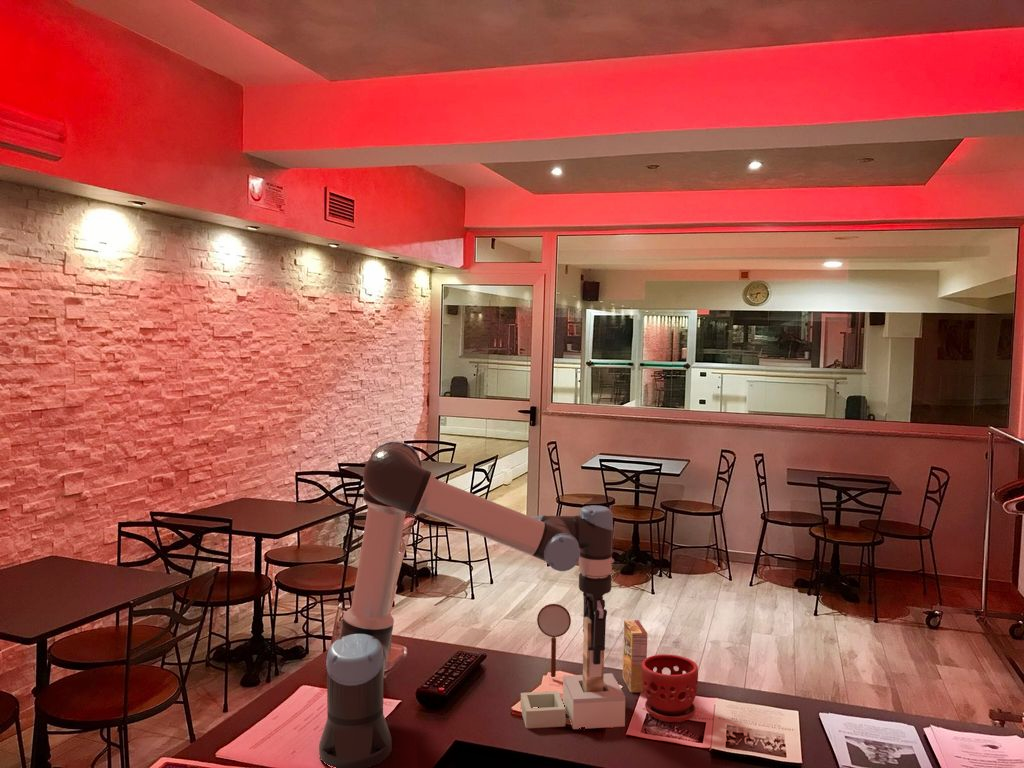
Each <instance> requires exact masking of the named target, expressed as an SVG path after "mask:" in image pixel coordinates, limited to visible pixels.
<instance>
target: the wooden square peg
mask: <svg viewBox="0 0 1024 768" xmlns="http://www.w3.org/2000/svg"><path fill="white" fill-rule="evenodd" d="M583 617H584V616H583ZM582 642H583V647H582V648H583V649H582V652H583V653H582V656H583V657H582V675H583V685H582V687H583V689H584V692H601V691H603V679H604V674H605V673H604V671H605V650H604V651H602V672H601V677H590V676H589V663H590V650H588V647H591V620H590V619H589V617H584V633H583V641H582Z"/></svg>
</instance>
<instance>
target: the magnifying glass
mask: <svg viewBox="0 0 1024 768" xmlns="http://www.w3.org/2000/svg"><path fill="white" fill-rule="evenodd" d="M536 618H537V619H536V621H537V622H536V623H537V626H538V628H539V630H540V631H541V633H542V634H544V635H545V636H547V637H550V638H551V641H550V642H551V644H550V645H551V647H550V648H551V649H550V650H551V651H550V653H551V654H550V655H551V656H550V677H551V678H552V677H556V667H557V663H556V661H557V656H556V655H557V638H558V637H561V636H563V635H565V634H566V633H567V632H568V631H569V629H570V627H571V624H572V623H571V622H572V619H571V614H570V612H569V611H568V609H566V607H565V606H563V605H561V604H558V603H549V604H547V605H545V606H543V607H542V608H541V609H540V610H539V611H538V614H537V617H536Z"/></svg>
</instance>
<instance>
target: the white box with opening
mask: <svg viewBox="0 0 1024 768" xmlns="http://www.w3.org/2000/svg"><path fill="white" fill-rule="evenodd" d="M562 677H563V678H562V702H563V703H564V705H565V708H566V710H565V712H566V711H567V713H568V715H567V717H568V716H569V718H570V720H571V723H572V725H571V728H572V729H573V730H582V729H581V727H585V729H597V728H598V729H601V728H603V729H604V728H619V727H625V726H626V725H625V724H626V695H625V693H624V692H623V689H622V688H621V686H620V684H619V683H618V681H617V680H616V677H614V674H613V673H611V672H610V673H604V679H603V691H601V692H583V691H584V689H583V687H582V685H583V674H571V675H567V674H566V675H563V676H562ZM567 713H566V714H567ZM569 718H568V719H569ZM570 720H569V721H570ZM571 723H570V724H571ZM579 728H580V729H579Z"/></svg>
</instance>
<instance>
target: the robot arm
mask: <svg viewBox="0 0 1024 768" xmlns="http://www.w3.org/2000/svg"><path fill="white" fill-rule="evenodd" d="M362 473H363V474H362V479H363V485H364V490H363V494H362V500H363V502H364V504H366V505H367V512H366V517H365V518H366V519H365V525H364V529H363V534H362V535H363V536H362V543H361V547H360V554H359V560H358V566H357V571H356V578H355V583H354V584H355V585H354V589H353V595H352V601H351V605H350V606H351V607H350V608H349V609H347V610H346V611H345V612H343V615H342V620H341V626H340V631H339V637H338V639H336V640H335V641H333V642H332V643H331V645H330V646H329V648H328V649H327V655H326V656H327V657H326V660H325V666H326V691H327V692H326V697H327V699H326V701H327V703H326V704H327V705H326V706H327V709H326V710H327V716H326V717H327V718H326V721H325V724H324V728H323V731H322V735H321V737H320V741H319V745H318V756H319V755H320V757H319V759H320V758H321V759H322V761H323V762H325V763H326V764H328V765H330V766H333V767H336V768H366V767H369V766H373V765H375V766H377V765H379V764H381V763H382V762H383V760H384V761H385V760H386V759H387V758H388V757H389V756H390V755H391V753H390V752H392V749H393V748H392V736H391V731H390V730H389V729H390V728H389V727H388V723H387V720H386V718H385V716H384V715H385V714H384V676H385V671H386V667H387V663H388V658H389V657H388V656H389V655H390V651H391V648H392V636H393V631H394V623H395V619H394V617H393V616H392V615H391V613H390V608H391V602H392V596H393V590H394V584H395V579H396V574H397V573H396V571H397V567H398V561H399V554H400V549H401V544H402V536H403V533H404V532H403V531H404V526H405V520H406V513H407V514H410V515H413V516H417V515H420V514H424V515H427V516H429V517H432V518H434V519H437V520H440V521H442V522H445V523H447V524H449V525H453V526H455V527H457V528H460V529H463V530H466V531H468V532H470V533H473V534H474V535H475V534H476V535H478V536H480V537H483V538H486V539H488V540H491V541H493V542H496V543H498V544H501V545H503V546H506V547H509V548H511V549H514V550H516V551H519V552H521V553H525V554H526V555H529V556H532V557H534V558H536V559H539V560H541V561H544V562H545V563H546V564H547V565H548V566H549V567H551V568H552V569H553V570H555V571H557V572H558V571H559V572H566V571H569V570H572V569H573V568H575V566H576V565H577V563H578V571H579V575H578V589H579V590H580V591H581V592H582V596H583V616H582V617H583V619H582V620H583V624H582V625H583V627H582V628H583V629H582V632H583V634H584V617H589V619H590V620H591V647H588V650H590V663H589V676H590V677H601V672H602V651H604V652H605V650H606V628H607V627H606V625H607V624H606V623H607V615H608V610H607V609H605V607H606V600H605V599H604V597H603V596H604V595H605V594H608V593H610V592H611V590H612V581H613V580H612V575H611V573H612V570H613V567H612V564H613V563H614V562H615V559H614V558H613V539H614V536H613V534H614V524H613V523H614V522H613V520H614V517H613V512H612V510H611V508H609V507H606V506H604V505H591V504H590V505H586V506H582V508H580V511H579V512H580V513H579V515H546V514H543V515H533V516H530V515H527V514H524V513H521V512H519V511H517V510H514V509H512V508H510V507H507V506H504V505H503V504H499V503H496V502H494V501H493V500H489V499H487V498H484V497H481V496H480V495H476V494H474V493H472V492H469V491H466V490H464V489H462V488H458V487H457V486H453V485H451V484H449V483H446V482H443V481H442V480H439V479H437V478H436V477H435V474H434V472H432V471H431V470H430V471H429V470H427V469H425V468H423V467H422V461H421V457H420V455H419V454H418V452H417V451H416V450H415V448H414V447H413V446H411V445H410V444H408V443H405V442H403V441H396V440H395V441H394V440H393V441H389V442H385V443H382V444H380V445H379V446H378V447H376V448H375V449H374V450H373V452H372V453H371V455H370V458H369V459H368V460H367V462H366V463H365V465H364V468H363V472H362ZM322 761H321V762H322ZM380 762H381V763H380ZM378 763H379V764H378ZM376 764H377V765H376ZM373 767H374V766H373Z"/></svg>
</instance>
